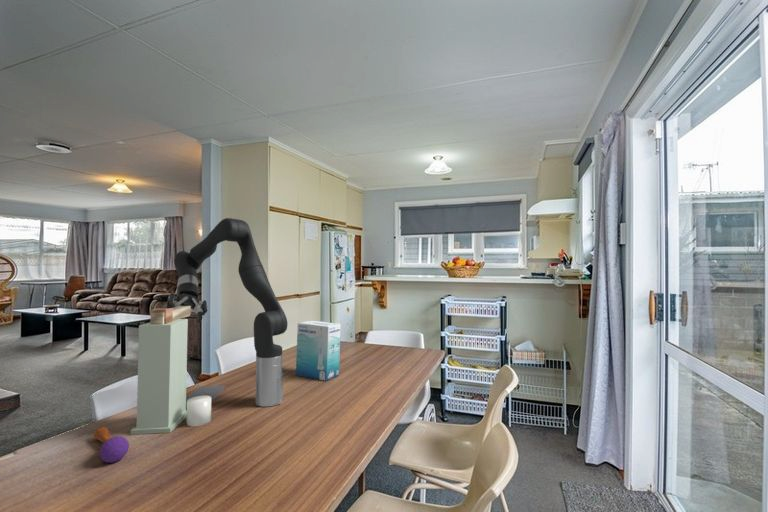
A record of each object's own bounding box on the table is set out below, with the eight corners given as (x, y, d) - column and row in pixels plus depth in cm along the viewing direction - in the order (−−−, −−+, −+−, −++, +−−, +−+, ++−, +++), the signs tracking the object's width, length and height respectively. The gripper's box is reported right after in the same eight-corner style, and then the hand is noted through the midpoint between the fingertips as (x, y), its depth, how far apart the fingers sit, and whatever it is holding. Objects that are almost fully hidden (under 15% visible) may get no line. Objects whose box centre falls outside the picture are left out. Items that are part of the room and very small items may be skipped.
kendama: (116, 420, 105) (133, 437, 91) (111, 442, 103) (128, 463, 90) (90, 423, 100) (105, 441, 87) (85, 446, 99) (99, 468, 86)
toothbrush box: (340, 375, 161) (340, 322, 162) (327, 381, 152) (327, 325, 153) (309, 370, 169) (310, 319, 170) (295, 376, 160) (295, 322, 161)
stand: (190, 413, 119) (192, 318, 120) (170, 432, 105) (172, 325, 106) (155, 414, 118) (157, 319, 119) (130, 434, 104) (133, 325, 105)
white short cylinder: (214, 416, 117) (214, 395, 117) (206, 425, 110) (206, 403, 110) (191, 417, 116) (192, 396, 116) (182, 427, 109) (183, 404, 109)
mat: (224, 387, 144) (224, 385, 144) (204, 409, 123) (204, 406, 123) (199, 388, 143) (199, 386, 143) (173, 410, 121) (173, 408, 121)
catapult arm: (191, 315, 128) (192, 303, 128) (164, 324, 108) (164, 310, 108) (178, 315, 127) (179, 303, 127) (149, 324, 107) (149, 310, 107)
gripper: (173, 277, 138) (172, 308, 128) (209, 286, 148) (211, 316, 137) (164, 289, 141) (162, 321, 130) (200, 298, 151) (201, 328, 140)
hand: (187, 319), depth 134 cm, fingers open, 8 cm apart
